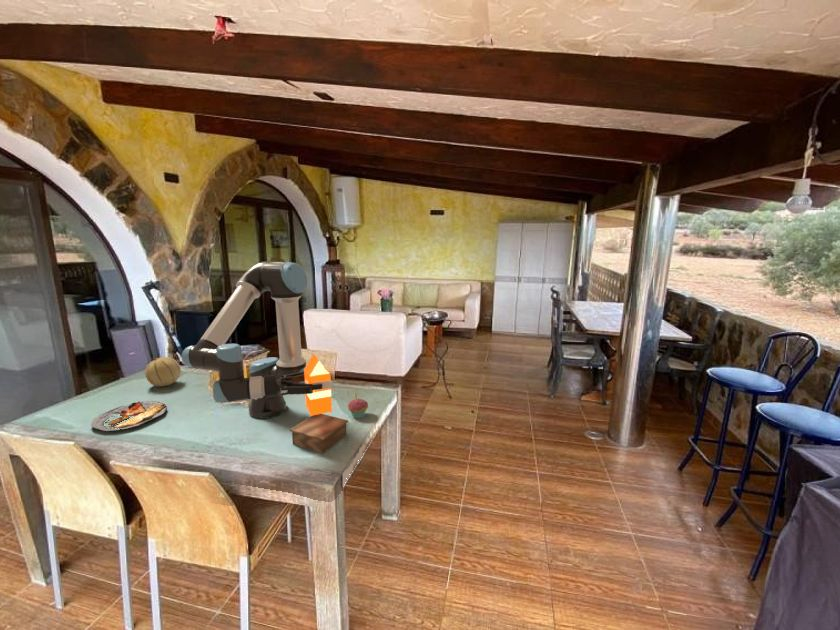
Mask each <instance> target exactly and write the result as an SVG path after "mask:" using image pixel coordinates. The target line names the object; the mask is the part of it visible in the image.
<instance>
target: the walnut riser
mask: <svg viewBox="0 0 840 630" xmlns="http://www.w3.org/2000/svg"><path fill="white" fill-rule="evenodd" d="M348 423H349V420H348V419H345V418H340V417H336V416H332V415H328V414H326V413H322V414H317V415H312V416H311V415H310V416H309V417H307V418H306V419H305V420H303V421H301V422H299V423H297V424H296V425H295V426H293V427H291V428H290V429H289V431H290V432H291V437H292V440H291V441H292V445H294V446H298V447H301V448H304V449H307V450H310V451H313V452H316V453H320V454H325V453H326V452H328V451H329V450H330V449H331V448H332V447H334V446H335V445H336V444H337V443H338V442H339V443H340V441H341V440H343V439H344V438H345V437H346V436H348V433H347V432H348V431H347V430H348V428H347V426H348V425H347V424H348Z"/></svg>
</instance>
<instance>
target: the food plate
mask: <svg viewBox="0 0 840 630" xmlns="http://www.w3.org/2000/svg"><path fill="white" fill-rule="evenodd" d="M167 408H168V406H167V405H166V404H165V403H163V402H160V401H156V400H150V401H149V400H148V401H147V400H146V401H137V402H132V403H128V404H126V405H121V406H119V407H116V408H113V409H111V410H109V411H105V412H104V413H101V414H99V415H98V416H96V417H95V418H93V420H92V421H91V424H90V425H91V427H92V428H94V429H96V430H99V431H100V430H101V431H106V432H109V431H121V430H120V429H122V430H125V429H129V428H134V427H137V426H140V425H143V424H145V423H146V422H149V421H151V420H153V419H155V418H157V417H159V416H162V415H163V414H165V413H166V411H167ZM114 414H116V415H118V414H120V416H122V417H119V418H117V419H115V418H114V419H115V420H112V421H110V422H109V421H108V423H109V424H107V425H106V426H104V422H105V421H106V420H107V419H109V418H110V417H113V415H114ZM129 416H130V417H132V416H134V417H133V418H131V419H129V418H130V417H129ZM127 419H129V420H127ZM124 420H127V421H125V422H123V423H121V424H118V425H115V424H117V423H120V422H122V421H124ZM108 425H111V426H112V425H115V426H112V427H109V426H108ZM108 427H109V428H108ZM115 428H117V429H115ZM118 428H119V429H118Z"/></svg>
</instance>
